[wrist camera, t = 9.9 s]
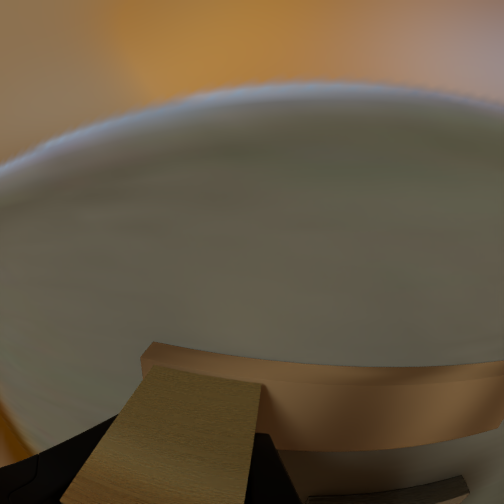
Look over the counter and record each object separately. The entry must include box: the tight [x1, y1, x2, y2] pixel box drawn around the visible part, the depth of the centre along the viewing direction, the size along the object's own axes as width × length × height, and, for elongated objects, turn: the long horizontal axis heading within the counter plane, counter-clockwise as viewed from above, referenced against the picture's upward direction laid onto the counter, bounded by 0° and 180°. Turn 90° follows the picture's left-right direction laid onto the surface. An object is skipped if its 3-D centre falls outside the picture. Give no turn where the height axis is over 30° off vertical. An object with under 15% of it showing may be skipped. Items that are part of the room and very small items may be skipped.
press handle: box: [59, 365, 261, 504], centre depth 5 cm, size 3×3×5 cm
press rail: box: [141, 342, 504, 452], centre depth 8 cm, size 14×3×1 cm, turn 85°
